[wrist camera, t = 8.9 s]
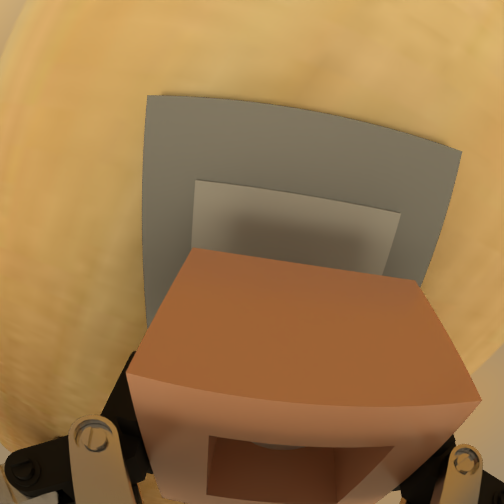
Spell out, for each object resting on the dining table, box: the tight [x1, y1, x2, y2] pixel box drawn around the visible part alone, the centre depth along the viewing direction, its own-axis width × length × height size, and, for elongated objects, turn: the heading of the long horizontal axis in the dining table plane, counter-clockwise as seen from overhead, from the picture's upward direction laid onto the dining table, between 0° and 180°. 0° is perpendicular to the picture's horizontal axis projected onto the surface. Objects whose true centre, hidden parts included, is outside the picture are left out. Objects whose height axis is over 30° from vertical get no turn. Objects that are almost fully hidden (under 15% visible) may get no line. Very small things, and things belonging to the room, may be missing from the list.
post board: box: [142, 95, 462, 450], centre depth 12 cm, size 16×14×10 cm
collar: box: [126, 247, 482, 504], centre depth 9 cm, size 7×7×5 cm
